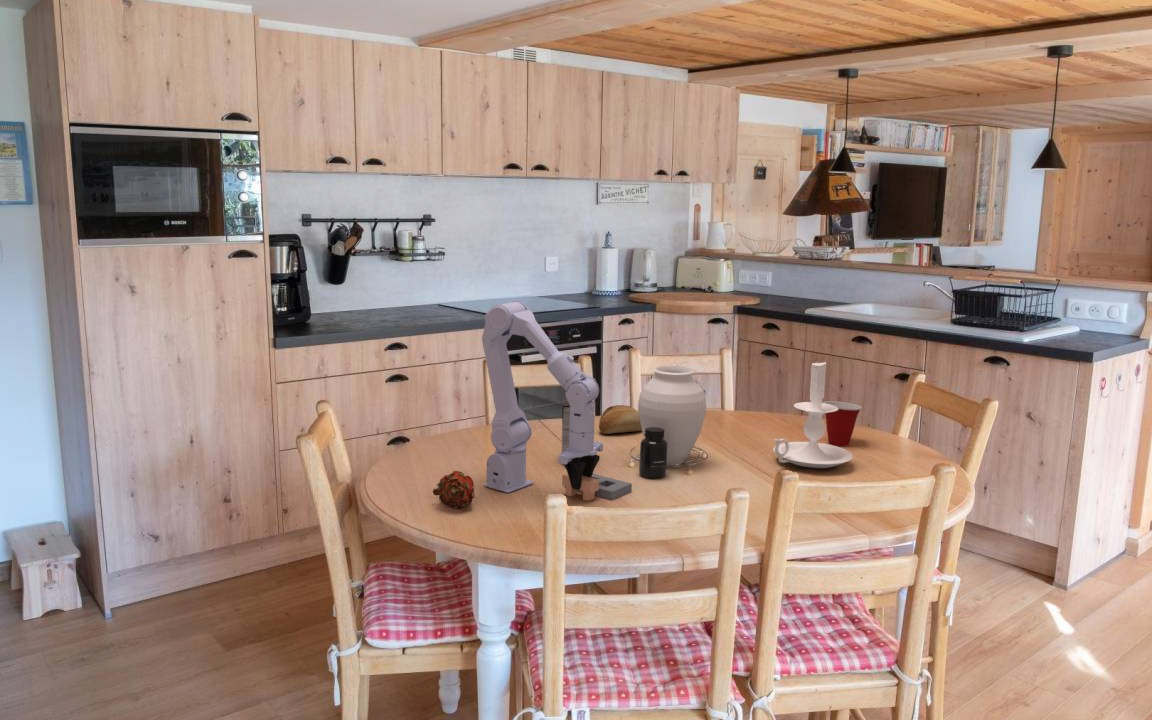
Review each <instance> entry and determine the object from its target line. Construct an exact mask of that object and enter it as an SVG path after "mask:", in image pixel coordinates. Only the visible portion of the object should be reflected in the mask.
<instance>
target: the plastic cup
mask: <svg viewBox="0 0 1152 720" xmlns="http://www.w3.org/2000/svg"><path fill="white" fill-rule="evenodd" d="M822 403H825V404H830V405H833V406H836V407H837V408H838V410H837V411H834V412H828V413H825V421H826V425H825V426H826V433H827V441H828V445H833V446H837V447H847V446H850V443H851V440H852V436H853V433H854V429H855V425H856V422H857V418H858V415H859V413H860V411H861V410H862V408H863V407H862V406H861V405H858V404H855V403H850V402H844V401H835V400H830V401H829V400H827V401H826V400H825V401H822Z"/></svg>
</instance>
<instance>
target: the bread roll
mask: <svg viewBox="0 0 1152 720" xmlns="http://www.w3.org/2000/svg"><path fill="white" fill-rule="evenodd" d="M598 428H599V431H600V433H601V434H605V435H609V434H619V433H621V434H623V433H631V432H632V433H633V432H640V431H642V428H641V423H640V418H639V412H638V409H635V408H634V407H632V406H629V405H625V404H623V405H622V404H617V405H612V406H609V407H607V408H606V409H605V410H604V411H602V414H601V416H600V418H599V423H598Z"/></svg>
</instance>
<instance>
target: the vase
mask: <svg viewBox="0 0 1152 720" xmlns="http://www.w3.org/2000/svg"><path fill="white" fill-rule="evenodd" d="M653 372H654V376H653V377H652V378H651V379H650V380H648V382H647V383H646V384H645V385H644V386H643V387H642V389H641V392H640V394H639V396H638V400H637V402H638V404H637V411H638V412H639V418H640V423H641V428H642V429H641V431H642V435H643V437H644V438H646V437H645V429H646V428H649V427H657V428H662V429H664V438H663V439H664V440H665V441H666V442H667V444H668V447H667V464H666V466H677V465H676V464H680V465H682V464H683V463H682V462H684V461H685V460H686V459H687V458H688V456H689V455H690V453H691V452H692V450H693V448H694V447H695V445H696V443H697V440H698V439H699V436H700V434H701V431H702V428H703V425H704V421H705V417H706V413H707V402H706V396H705V394H704V391H703V388H702V387H701V386H700V385H699V384H698V383H697V382H696V381H695V380H694V378H693V374H694V373H695V372H694V370H692V369H690V368H689V367H685V366H677V365H675V366H674V365H664V366H663V365H662V366H658V367H655V368H653ZM644 438H643V439H644ZM681 463H682V464H681Z"/></svg>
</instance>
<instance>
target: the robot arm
mask: <svg viewBox="0 0 1152 720" xmlns="http://www.w3.org/2000/svg"><path fill="white" fill-rule="evenodd" d="M483 318H484V323H485V324H484V328H483V333H482V337H481V339H482V340H481V341H482V347H483V350H484V351H483V352H484V356H485V362H486V366H487V372H488V377H489V382H490V383H489V384H490V388H491V393H492V398H493V404H494V409H495V413H494V416H493V418H492V420H491V428H492V429H491V433H490V439H491V443H492V446H493V447H494V448H495V451H494V452H493V453H491V454H490V455H489V456H488V457H487V460H486V482H485V483H484V484H483V486H484V487H486V488H490V489H494V490H498V491H501V492H504V493H507V494H508V493H512V492H514V491H516V490H519V489H522V488H525V487H528V486H530V485H533V484H534V481H533V480H529V479H527V442H528V441H529V440H530V439H531V437H532V427H531V425H530V423H529V422H528V420H527V418H526V417H527V416H526V413H525V412H524V411H523V410H522V409H521V408H520V407H519V403H518V398H517V394H516V389H515V383H514V377H513V373H512V366H511V362H510V356H509V352H508V347H507V343H508V341H509V340H510V339H511V337H512V336H513V335H514V336H519V337H524V338H525V339H526V340H527V341H528V342H529V343H530V344H531V345H532V347H534V348H535V349H536V351H538V353H539V354H540V355H541V356H542V357H543V358H544V359H545V360H546V361H547V368H546V369H547V370H548V371H549V373H551V375H552V376H553V377H554V379H555V380H556V381H557V382H558V383H559V385H561V387H562V388H563V389H564V390H565V391H566V392H565V394H564V395H565V398H566V401H567V400H568V402H569V404H570V429H569V448H568V449H567V450H565V451H564V452H563V453H562V452H561V453H560V454H558V462H557V463H558V464H561V465H562V464H563V466H564V468H565V470H566V472H567V473H568V475H569V479H570V483H571V487H572V488H573V489H576V490H580V487H581V482H582V475H583V476H587V477H590V478H592V474H594V471H595V468H596V466H597V464H598V463H599V462H600V457H601V456H600V455H599V454H598V452H603V451H604V443H603V442H599V441H595V419H596V418H595V417H596V416H595V415H596V413H595V412H596V411H595V409H596V408H595V407H596V399H597V398H598V396H599V395H600V394H599V393H600V387H599V384H598V383H597V380H596V378H594V377H592V376H588V374H587V373H586V372H585V371H584V372H583V370H581V368H580V367H579V366H578V365H577V364H576V362H574V360H575V358H574V356H572V354H570V355H569V354H568V353H567V352H562V351H559V350H558V349H557V347H556V346H555V345H554V343H553V342H552V340H551V339H550V338H549V336H548V335H547V334H546V332H545V330H544V329H543V328H542V327H541V326H540V324H539V323H538V322H537V320H536V318H535V315H534V313H533V312H532V311H531V310H530V309H528V307H527V305H526V304H525V303H524V302H522V301H520V300H514V301H513V300H512V301H511V302H507V303H503V304H500V303H499V304H495V305H493V306H492V307H490V309H488V311H487V312H486V314H485V315H484V317H483ZM591 401H592V402H591ZM567 473H566V474H567Z"/></svg>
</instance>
